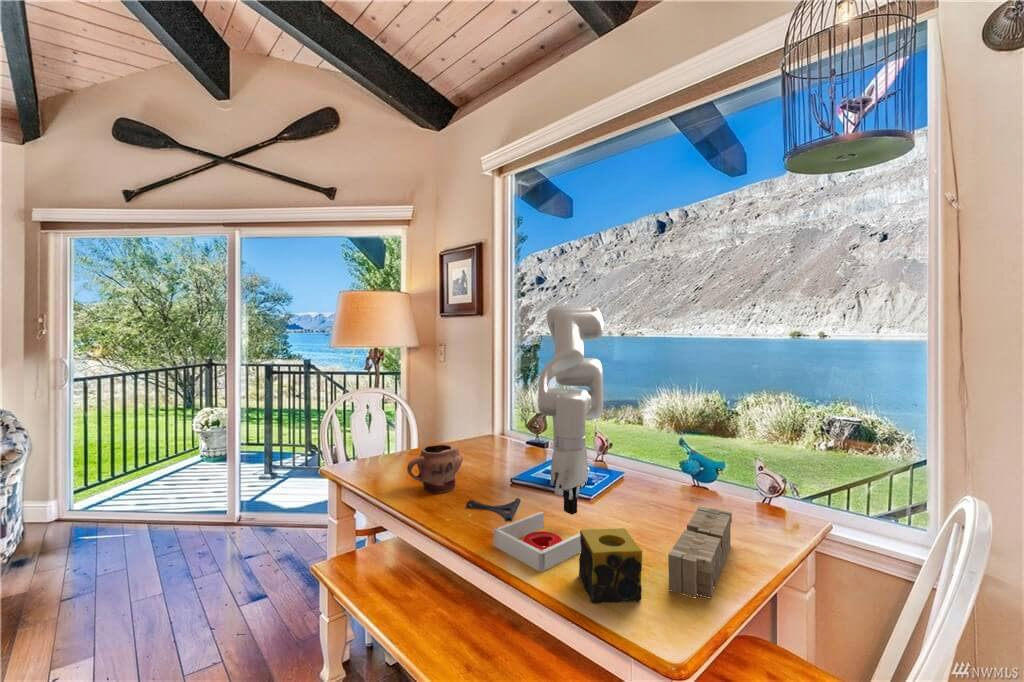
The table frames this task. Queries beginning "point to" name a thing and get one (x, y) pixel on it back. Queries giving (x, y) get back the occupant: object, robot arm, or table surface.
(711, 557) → the block tower
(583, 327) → the robot arm
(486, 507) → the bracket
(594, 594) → the olive cube with hole
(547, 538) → the decorative ornament
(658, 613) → the table surface
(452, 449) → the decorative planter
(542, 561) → the rail
